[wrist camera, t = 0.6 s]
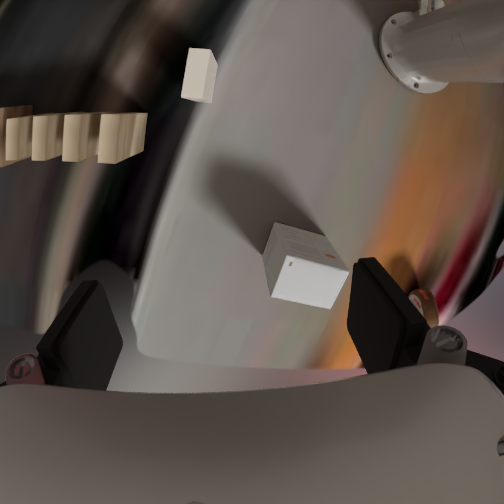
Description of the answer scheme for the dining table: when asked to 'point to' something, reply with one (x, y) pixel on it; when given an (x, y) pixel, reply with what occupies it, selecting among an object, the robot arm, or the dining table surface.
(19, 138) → the domino
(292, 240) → the small box
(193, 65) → the domino
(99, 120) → the domino
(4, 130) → the end block
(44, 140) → the domino
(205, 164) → the dining table surface
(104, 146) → the domino
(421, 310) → the tin
